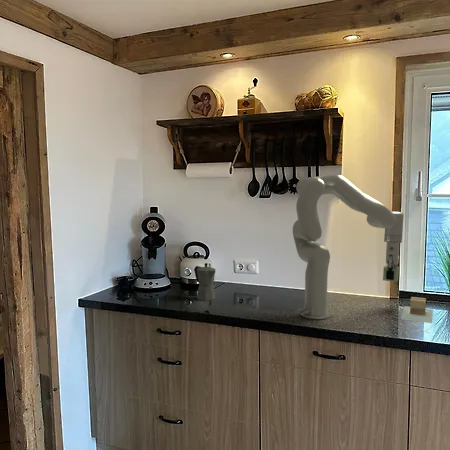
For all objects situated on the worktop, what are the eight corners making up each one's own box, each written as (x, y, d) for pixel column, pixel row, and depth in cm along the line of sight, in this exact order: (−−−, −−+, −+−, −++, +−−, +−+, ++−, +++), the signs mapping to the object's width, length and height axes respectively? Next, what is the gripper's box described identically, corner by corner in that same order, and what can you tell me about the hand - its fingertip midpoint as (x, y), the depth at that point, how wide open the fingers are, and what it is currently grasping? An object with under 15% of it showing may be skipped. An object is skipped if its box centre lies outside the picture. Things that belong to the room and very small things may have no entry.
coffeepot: (221, 299, 220) (222, 263, 218) (207, 302, 214) (207, 266, 212) (201, 293, 231) (201, 259, 230) (187, 296, 225) (187, 261, 223)
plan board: (432, 324, 181) (432, 323, 181) (400, 320, 186) (400, 319, 186) (432, 310, 201) (432, 309, 201) (404, 307, 206) (404, 306, 206)
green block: (397, 281, 197) (397, 268, 196) (382, 280, 200) (383, 267, 199) (398, 279, 202) (398, 266, 202) (384, 278, 205) (385, 265, 204)
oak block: (424, 315, 192) (425, 301, 192) (409, 313, 195) (410, 299, 194) (425, 311, 198) (425, 298, 197) (410, 309, 200) (411, 296, 200)
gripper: (400, 241, 190) (397, 282, 192) (403, 237, 205) (400, 276, 207) (382, 240, 193) (379, 280, 195) (386, 236, 209) (384, 274, 210)
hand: (390, 277), depth 201 cm, fingers closed on green block, 6 cm apart
